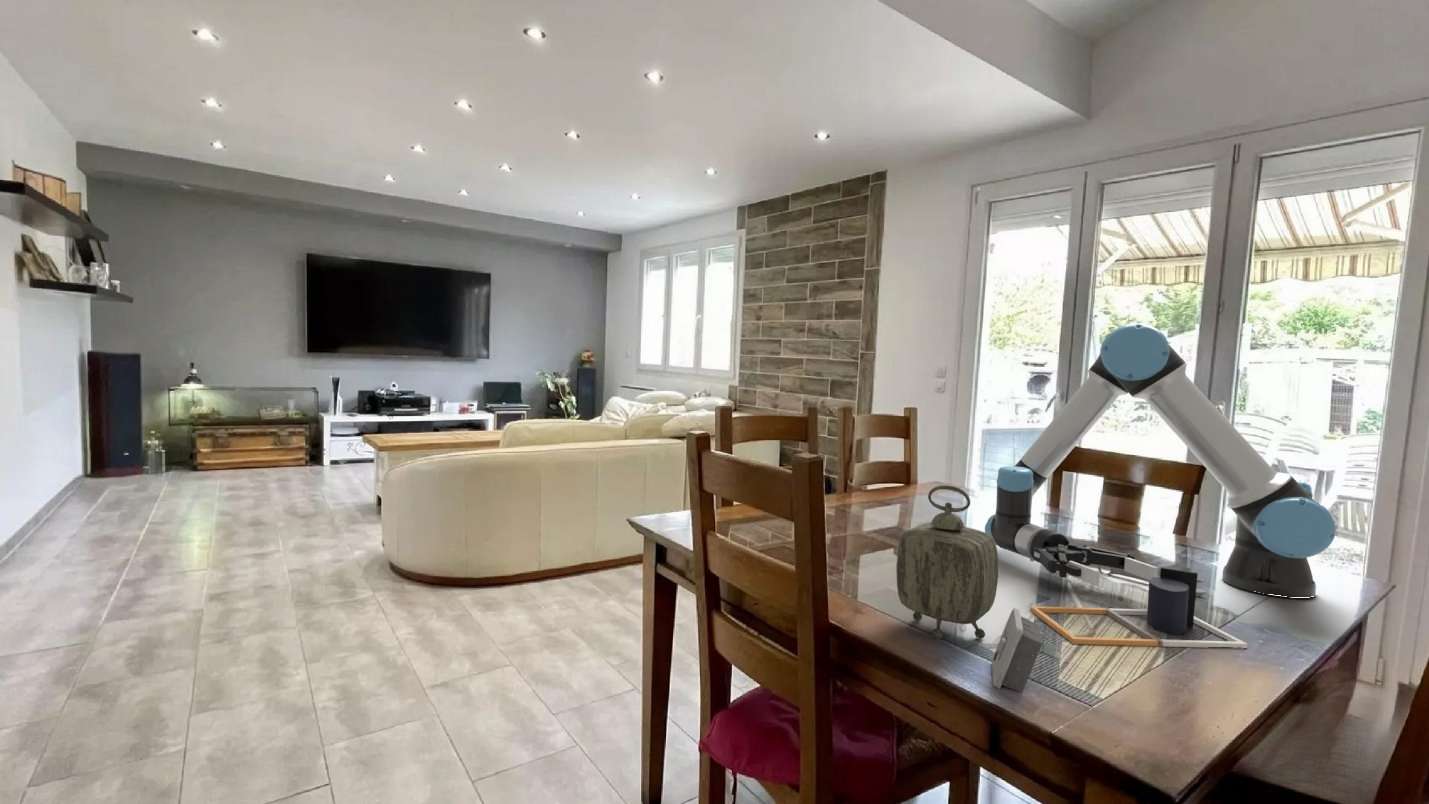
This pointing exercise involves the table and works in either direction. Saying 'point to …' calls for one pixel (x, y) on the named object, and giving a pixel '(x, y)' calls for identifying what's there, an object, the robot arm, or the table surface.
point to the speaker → (1172, 601)
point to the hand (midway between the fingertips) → (1127, 576)
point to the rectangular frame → (1149, 637)
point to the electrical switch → (1016, 652)
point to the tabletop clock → (947, 569)
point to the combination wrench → (1124, 573)
